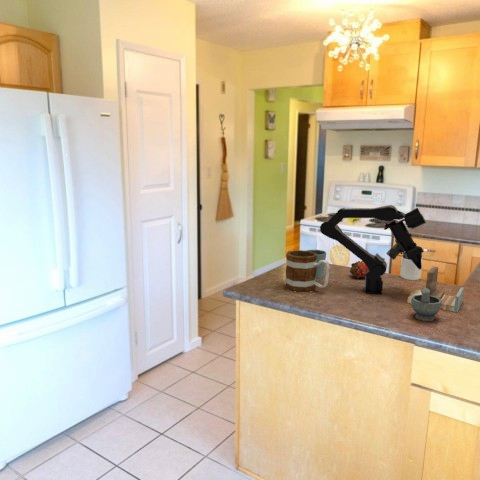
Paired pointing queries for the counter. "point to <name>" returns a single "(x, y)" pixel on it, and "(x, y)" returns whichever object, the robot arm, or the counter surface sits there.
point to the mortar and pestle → (425, 305)
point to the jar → (409, 269)
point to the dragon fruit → (359, 269)
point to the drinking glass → (320, 268)
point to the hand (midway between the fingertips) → (420, 269)
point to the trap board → (447, 300)
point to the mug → (303, 271)
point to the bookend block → (433, 283)
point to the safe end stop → (459, 299)
